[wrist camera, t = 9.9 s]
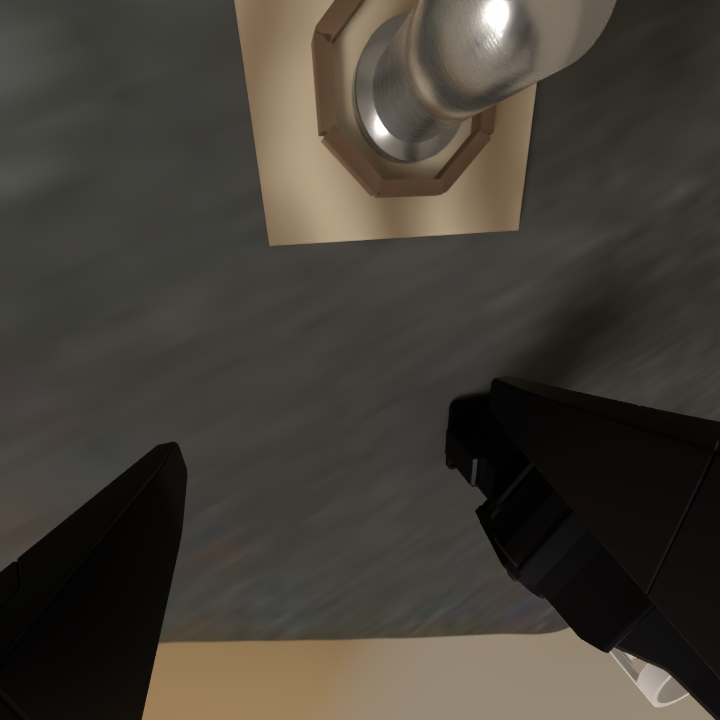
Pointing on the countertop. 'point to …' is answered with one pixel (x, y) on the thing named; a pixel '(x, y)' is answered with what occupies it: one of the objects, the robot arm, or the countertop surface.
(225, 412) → the countertop surface
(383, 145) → the aluminium hub pin
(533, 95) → the maple board
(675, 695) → the grey stepped cylinder
